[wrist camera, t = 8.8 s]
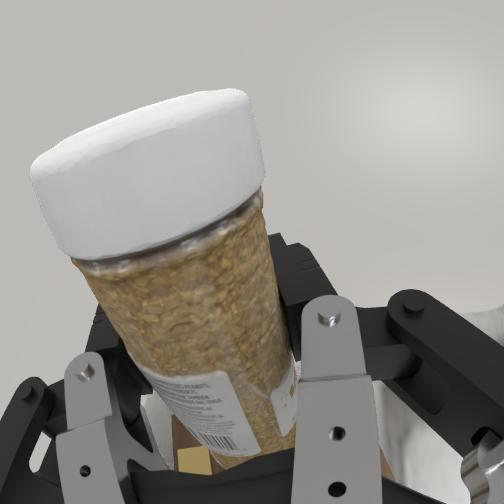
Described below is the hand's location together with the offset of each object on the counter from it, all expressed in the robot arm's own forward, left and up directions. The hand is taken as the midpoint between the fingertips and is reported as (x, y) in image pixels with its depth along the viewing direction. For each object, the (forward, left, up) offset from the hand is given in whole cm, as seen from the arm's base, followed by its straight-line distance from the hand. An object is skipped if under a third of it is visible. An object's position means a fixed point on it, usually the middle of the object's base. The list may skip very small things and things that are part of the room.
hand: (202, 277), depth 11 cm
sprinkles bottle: (0, +3, -8) cm, 8 cm away
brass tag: (+4, +3, -12) cm, 13 cm away
